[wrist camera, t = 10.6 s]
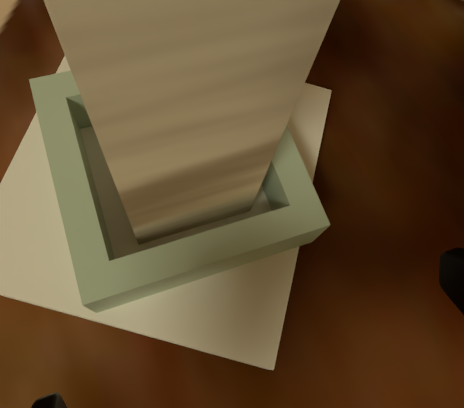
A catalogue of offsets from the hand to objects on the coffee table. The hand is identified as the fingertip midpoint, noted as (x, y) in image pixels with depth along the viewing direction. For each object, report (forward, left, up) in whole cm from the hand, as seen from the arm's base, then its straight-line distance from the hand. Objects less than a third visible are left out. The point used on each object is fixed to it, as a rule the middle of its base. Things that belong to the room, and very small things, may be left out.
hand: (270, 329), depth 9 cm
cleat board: (+6, +4, -9) cm, 12 cm away
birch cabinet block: (+6, +4, -8) cm, 11 cm away
